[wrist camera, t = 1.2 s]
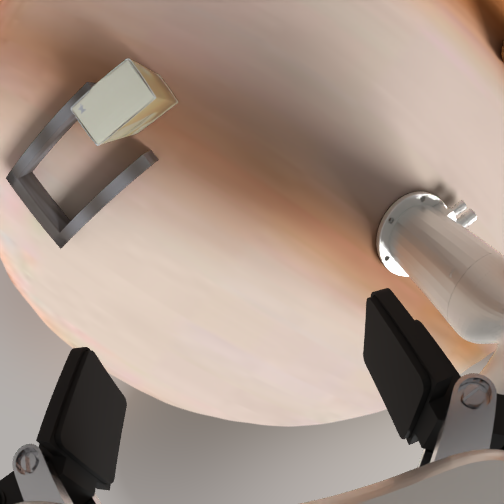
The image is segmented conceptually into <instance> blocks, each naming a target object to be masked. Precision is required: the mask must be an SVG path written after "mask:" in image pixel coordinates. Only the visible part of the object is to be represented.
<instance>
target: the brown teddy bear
mask: <svg viewBox="0 0 504 504" xmlns="http://www.w3.org/2000/svg"><path fill="white" fill-rule="evenodd" d="M501 55H502V61H503V62H504V40H503V46H502V52H501Z"/></svg>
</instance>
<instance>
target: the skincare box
mask: <svg viewBox="0 0 504 504" xmlns="http://www.w3.org/2000/svg"><path fill="white" fill-rule="evenodd" d="M177 103H178V100H177V99H176V97H175V96H174V94H173V93H172V92H171V90H170V89H169V87H168V86H167V84H166V83H165V82H164V80H163V79H162V78H161V76H160V75H158V74H156V73H155V72H153V71H151V70H149V69H148V68H146V67H144V66H142V65H140V64H139V63H137V62H135V61H133V60H131V59H129V58H128V59H125V60H124V61H123V62H122V63H120V64H119V65H118V66H117V67H115V68H114V69H113V70H112V71H110V72H109V73H108V74H107V75H106V76H104V77H103V78H102V79H101V80H100V81H99V82H97V83H96V84H95V85H94V86H93V87H92V88H91V89H90V90H89V91H88V92H87V93H85V94H84V95H83V96H82V97H81V98H80V99H79V100H78V101H77V102H76V103H75V104H74V105H73V106H72V107H71V111H72V112H73V114H74V115H75V117H76V118H77V120H78V121H79V123H80V124H81V125H82V127H83V128H84V130H85V131H86V133H87V134H88V135H89V137H90V138H91V139H92V140H93V142H94V143H95V144H96V145H97V146H99V145H101V144H105V143H108V142H111V141H114V140H117V139H120V138H124V137H127V136H131V135H134V134H137V133H139V132H140V131H141V130H143V129H144V128H146V127H147V126H148V125H150V124H151V123H152V122H154V121H155V120H156V119H158V118H159V117H160V116H162V115H163V114H164V113H165V112H167V111H168V110H169V109H171V108H172V107H173V106H175V105H176V104H177Z"/></svg>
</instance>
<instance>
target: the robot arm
mask: <svg viewBox="0 0 504 504" xmlns="http://www.w3.org/2000/svg"><path fill="white" fill-rule="evenodd" d="M466 208H467V207H466V204H465V203H464V201H462V200H461V201H460V202H458V203H457V204H456V205H455V206H454V207H452V208H447V206H446V204H445V203H444V202H443V201H442V200H441V199H440V198H439V197H437V196H435V195H434V194H432V193H428V192H423V191H417V192H412V193H409V194H407V195H405V196H403V197H401V198H400V199H398V200H397V201H396V202H395V203H394V204H393V205H392V206H391V207H390V208H389V209H388V211H387V212H386V213H385V215H384V217H383V219H382V220H381V223H380V226H379V228H378V232H377V238H376V247H377V252H378V256H379V258H380V260H381V262H382V263H383V264H384V266H385V267H386V268H387V269H388V270H389V271H390V272H392V273H394V274H396V275H399V276H406V277H407V276H409V277H410V278H411V279H412V280H413V282H414V283H415V284H416V285H417V286H418V287H419V288H420V290H421V291H422V292H423V293H424V294H425V295H426V296H427V298H428V299H429V300H430V301H431V302H432V304H433V305H434V306H435V307H436V308H437V309H438V311H439V312H440V313H441V314H442V315H443V317H444V318H445V319H446V320H447V322H448V323H449V324H450V325H451V326H452V328H453V329H454V330H455V331H456V332H457V333H458V334H459V335H460V336H461V337H462V338H463V339H465V340H467V341H469V342H473V343H478V344H491V343H497V349H496V351H495V352H494V354H493V355H492V357H491V358H490V360H489V361H488V363H487V365H486V366H485V367H484V369H483V370H482V371H481V372H480V374H475V373H473V374H472V373H471V374H467V375H464V376H462V377H461V376H460V375H459V373H458V372H457V371H456V369H455V368H454V366H453V365H452V363H451V362H450V361H449V359H448V358H447V356H446V355H445V354H444V352H443V351H442V349H441V348H440V347H439V345H438V344H437V343H436V341H435V340H434V339H433V337H432V336H431V335H430V333H429V332H428V331H427V329H426V328H425V327H424V325H423V324H422V323H421V322H420V321H418V320H414V319H413V318H412V317H411V315H410V314H409V313H408V311H407V310H406V309H405V308H404V306H403V305H402V304H401V302H400V301H399V300H398V299H397V297H396V296H395V295H394V293H393V292H392V291H391V290H390V289H389V288H386V289H382V290H379V291H375V292H372V294H371V297H370V298H367V302H366V322H365V338H364V351H363V357H364V361H365V364H366V366H367V368H368V370H369V372H370V374H371V376H372V378H373V380H374V382H375V385H376V387H377V389H378V391H379V393H380V395H381V397H382V399H383V401H384V403H385V405H386V408H387V410H388V412H389V414H390V416H391V418H392V420H393V423H394V425H395V427H396V429H397V431H398V433H399V435H400V437H401V438H402V439H405V438H406V439H407V442H408V444H409V445H410V444H413V443H415V442H417V441H419V443H420V445H421V447H422V448H424V450H423V453H422V456H421V458H420V461H419V464H418V467H417V468H416V469H413V470H410V471H408V472H405V473H402V474H400V475H398V476H395V477H392V478H389V479H386V480H383V481H381V482H378V483H375V484H372V485H368V486H365V487H362V488H359V489H355V490H352V491H349V492H345V493H342V494H339V495H335V496H331V497H327V498H323V499H319V500H314V501H310V502H305V503H301V504H504V255H502V254H501V253H500V252H498V251H497V250H496V249H494V248H493V247H492V246H490V245H489V244H487V243H486V242H485V241H483V240H482V239H481V238H479V237H478V236H476V235H475V234H473V233H472V232H471V231H469V230H468V229H466V227H468V226H470V225H471V224H472V223H473V222H475V221H476V220H477V216H476V214H475V212H474V211H473V210H472V209H469V210H468V211H466V212H465V213H464V214H462V215H461V217H459V218H458V219H457V220H456V215H458V214H459V213H461V212H463V211H464V210H465V209H466ZM126 406H127V403H126V399H125V397H124V395H123V394H122V393H121V391H120V390H119V388H118V387H117V386H116V384H115V383H114V381H113V380H112V378H111V377H110V376H109V374H108V373H107V371H106V370H105V368H104V367H103V365H102V364H101V362H100V360H99V359H98V357H97V356H96V354H95V353H94V352H93V351H91V350H90V349H89V348H87V347H82V348H73V349H72V350H71V352H70V354H69V356H68V358H67V361H66V363H65V365H64V368H63V370H62V373H61V375H60V377H59V380H58V382H57V385H56V387H55V390H54V392H53V395H52V398H51V400H50V403H49V405H48V408H47V411H46V414H45V416H44V419H43V422H42V425H41V428H40V431H39V434H38V437H37V440H36V441H37V442H39V443H40V444H39V447H37V446H36V445H34V444H26V445H24V446H22V447H21V448H19V449H18V451H17V452H16V453H15V456H14V458H13V470H14V471H13V472H11V473H10V474H9V475H7V476H6V477H4V478H3V479H2V480H0V504H101V502H100V501H99V499H98V497H97V496H96V494H95V488H97V489H103V490H110V484H111V483H113V481H114V477H115V470H116V464H117V457H118V451H119V445H120V439H121V433H122V428H123V422H124V417H125V411H126Z"/></svg>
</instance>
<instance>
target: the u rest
mask: <svg viewBox="0 0 504 504" xmlns="http://www.w3.org/2000/svg"><path fill="white" fill-rule="evenodd" d="M95 84H96V83H91V82H87V83H86V84H85V85H84V86H83V87H82V88H81V89H80V90H79V91H78V92H77V93H76V94H75V95H74V96H73V97H72V98H71V99H70V100H69V101H68V102H67V103H66V104H65V105H64V106H63V107H62V108H61V110H60V111H59V112H58V113H57V114H56V115H55V116H54V117H53V118H52V120H51V121H50V122H49V123H48V124H47V125H46V126H45V128H44V129H43V130H42V131H41V132H40V134H39V135H38V136H37V137H36V138H35V140H34V141H33V142H32V143H31V145H30V146H29V147H28V148H27V150H26V151H25V152H24V154H23V155H22V156H21V158H20V159H19V160H18V162H17V163H16V164H15V166H14V167H13V169H12V170H11V171H10V173H9V174H8V176H7V177H6V179H7V180H8V182H9V183H10V185H11V186H12V187H13V189H14V190H15V192H16V193H17V194H18V196H19V197H20V198H21V200H22V201H23V202H24V204H25V205H26V206H27V208H28V209H29V210H30V212H31V213H32V214H33V215H34V217H35V218H36V219H37V221H38V222H39V223H40V224H41V226H42V227H43V228H44V229H45V230H46V232H47V233H48V234H49V235H50V237H51V238H52V239H53V240H54V241H55V242H56V244H57V245H58V246H59V247H60V248H62V247H63V246H64V245H65V244H66V243H67V242H68V241H69V240H70V239H71V238H72V237H73V236H74V235H75V234H76V233H77V232H78V231H79V230H80V229H81V228H82V227H83V226H84V225H85V224H86V223H87V222H88V221H89V220H90V219H91V218H92V217H93V216H94V215H95V214H96V213H98V212H99V211H100V210H101V209H102V208H103V207H104V206H105V205H106V204H107V203H108V202H109V201H111V200H112V199H113V198H114V197H115V196H116V195H117V194H118V193H120V192H121V191H122V190H123V189H124V188H125V187H126V186H127V185H129V184H130V183H131V182H132V181H133V180H134V179H136V178H137V177H138V176H139V175H140V174H142V173H143V172H144V171H145V170H146V169H148V168H149V167H150V166H151V165H153V164H154V163H155V162H156V161H157V160H158V158H157V157H156V156H155V155H154V153H153V152H152V151H151V150H149V151H148V152H146V153H144V154H143V155H141V156H140V157H139V158H138V159H137V160H136V161H134V162H133V163H132V164H131V165H130V166H129V167H127V168H126V169H125V170H124V171H123V172H122V173H121V174H120V175H118V176H117V177H116V178H115V179H114V180H113V181H112V182H111V183H110V184H109V185H107V186H106V187H105V188H104V189H103V190H102V191H101V192H100V193H99V194H98V195H97V196H96V197H95V198H94V199H93V200H92V201H91V202H90V203H88V204H87V205H86V206H85V207H84V208H83V209H82V210H81V211H80V212H79V213H78V214H77V215H76V216H75V217H74V218H73V220H72V221H70V220H69V219H68V218H67V217H66V215H65V214H64V213H63V212H62V210H61V209H60V208H59V207H58V205H57V204H56V203H55V202H54V200H53V199H52V198H51V196H50V195H49V194H48V193H47V191H46V190H45V189H44V187H43V186H42V185H41V183H40V182H39V181H38V179H37V178H36V177H35V175H34V174H33V173H32V171H33V170H34V169H35V168H36V166H37V165H38V164H39V163H40V161H41V160H42V159H43V158H44V157H45V155H46V154H47V153H48V152H49V151H50V150H51V148H52V147H53V146H54V145H55V144H56V143H57V142H58V141H59V139H60V138H61V137H62V136H63V135H64V134H65V133H66V132H67V131H68V130H69V129H70V128H71V126H72V125H73V124H74V123H75V122H76V121H77V118H76V117H75V115H74V114H73V112H72V111H71V107H72V106H73V105H74V104H75V103H76V102H77V101H78V100H79V99H80V98H81V97H82V96H83V95H84V94H85V93H87V92H88V91H89V90H90V89H91V88H92V87H93V86H94V85H95Z"/></svg>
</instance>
